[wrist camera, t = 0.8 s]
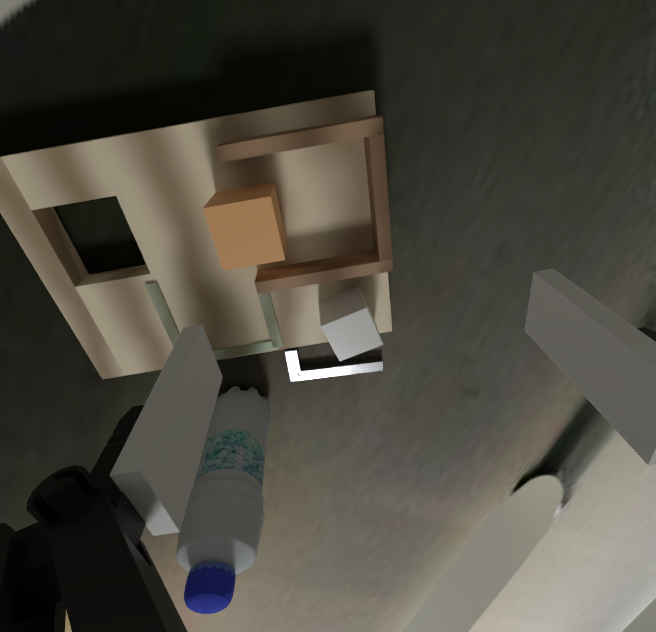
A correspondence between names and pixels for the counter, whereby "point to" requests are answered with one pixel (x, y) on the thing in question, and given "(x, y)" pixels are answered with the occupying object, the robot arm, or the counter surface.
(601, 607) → the counter surface
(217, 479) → the bottle
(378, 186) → the cubby
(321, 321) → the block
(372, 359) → the crook tool
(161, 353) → the board
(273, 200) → the cube
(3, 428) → the counter surface
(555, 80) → the counter surface
